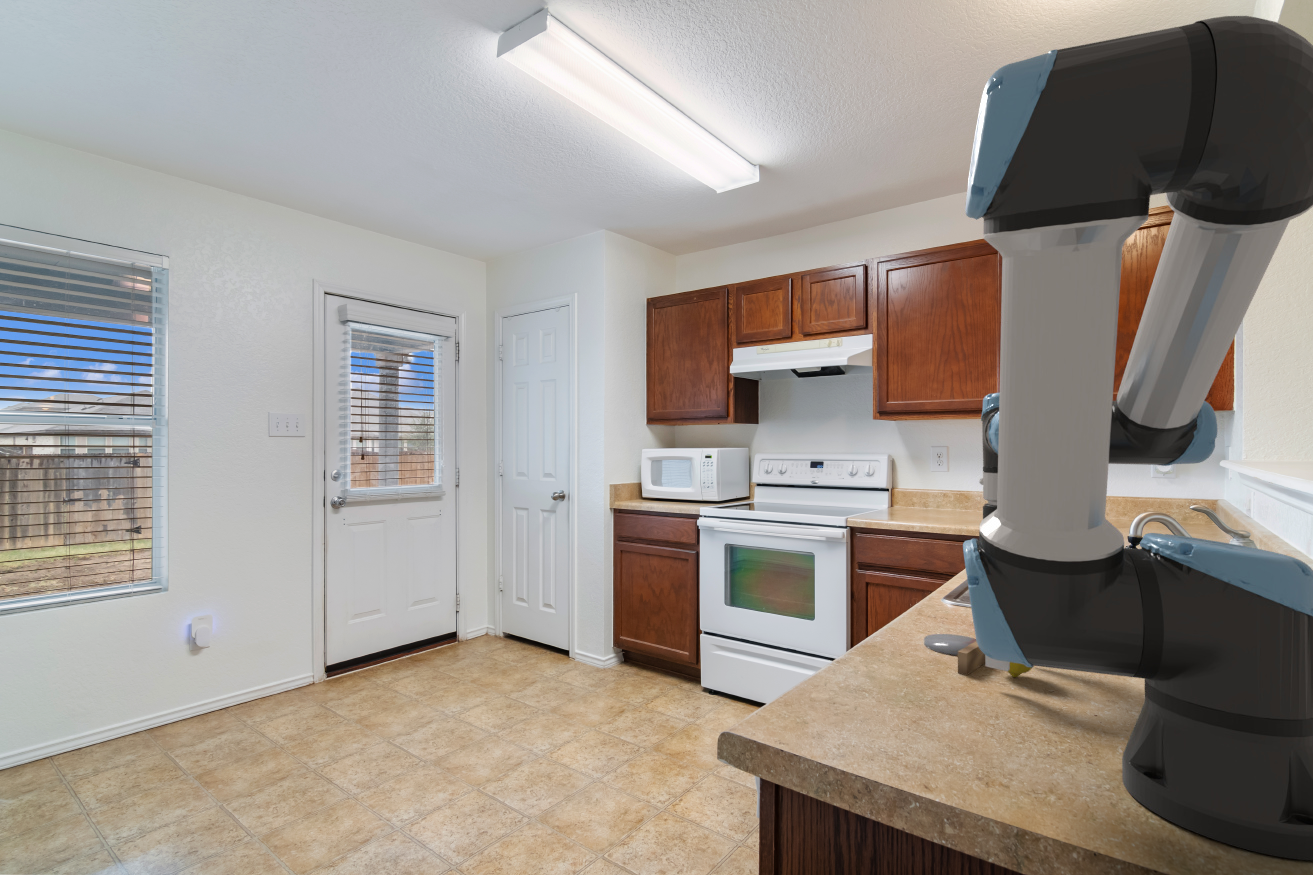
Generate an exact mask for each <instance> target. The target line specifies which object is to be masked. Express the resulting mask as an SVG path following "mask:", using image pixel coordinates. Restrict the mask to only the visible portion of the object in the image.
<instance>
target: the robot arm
mask: <svg viewBox="0 0 1313 875" xmlns="http://www.w3.org/2000/svg"><path fill="white" fill-rule="evenodd" d="M973 138H974V139H973V143H972V144H973V145H972V150H971V158H970V165H969V173H968V181H967V191H966V198H965V208H964V209H965V216H966V217H968V218H971V219H974V220H979V219H980V218H981V219H982V218H983V240H984V241H985V242H987V243H988V244H989V245H990V246H992V248H994V249H995V250H997V252H998V253H999V255H1000V256H1001V257H1002V262H1001V264H1002V265H1001V305H1000V306H1001V309H1000V310H1001V311H1000V315H1001V316H1000V322H1001V323H1000V352H999V353H1000V354H999V355H1000V357H999V358H1000V359H999V363H1000V364H999V392H994V393H988V394H987V395H984V397H983V399H982V412H981V415H980V420H981V422H982V427H981V428H982V432H981V433H982V434H981V435H982V436H981V437H982V465H983V466H982V477H981V478H979V481H978V482H979V484H980V485H981V486H982V496H983V498H982V499H983V500H985V501H987V503H984V505H983V506H982V520H981V521H980V523H979V530H978V531H979V532H978V533H979V534H978V535H979V536H978V538H971V539H967V540H964V542H963V544H962V552H963V558H964V566H965V571H966V572H965V574H966V579H967V580H966V581H967V586H968V594H969V603H970V609H971V616H972V624H973V628H974V635H975V639H976V641H977V644H978V647H979V648H980V650H981V651H982V652H983V653H984V654H985V664H984V665H985V667H986V668H991V669H996V670H999V671H1004V672H1007V671H1009V670H1010V662H1013V663H1019V664H1024V665H1025V666H1027V667H1033V666H1034V667H1042V668H1049V669H1051V668H1052V669H1060V670H1066V671H1075V672H1076V671H1077V672H1084V673H1085V672H1086V673H1091V674H1092V673H1094V674H1100V675H1101V674H1103V675H1110V676H1118V677H1119V676H1120V677H1129V678H1137V679H1144V700H1143V704H1142V707H1141V710H1140V712H1139V714H1138V717H1137V720H1136V721H1135V723H1134V726H1133V729H1132V731H1131V734H1130V735H1129V739H1128V741H1127V743H1126V746H1125V749H1124V750H1123V753H1122V759H1121V763H1122V765H1121V767H1122V768H1121V769H1122V771H1121V772H1122V783H1123V786H1124V787H1125V789H1126V790H1127V792H1128V793H1129V794H1130V795H1131V796H1132V797H1133V798H1134V799H1135V800H1136V801H1138V802H1139V803H1140V804H1141V805H1143V806H1144V807H1145V808H1147V809H1149V810H1150V811H1151V812H1153V813H1155V814H1157V815H1159V816H1160V817H1162V818H1163V819H1166V820H1168V821H1169V822H1171V823H1174V824H1175V825H1177V826H1179V827H1182V828H1183V829H1186V830H1189V831H1192V832H1193V833H1196V834H1199V835H1201V836H1204V837H1206V838H1209V839H1211V840H1215V841H1217V842H1221V843H1223V844H1226V845H1229V846H1232V847H1233V846H1234V847H1236V848H1240V849H1244V850H1248V851H1251V852H1255V853H1259V854H1264V855H1270V856H1274V857H1279V858H1284V859H1285V858H1287V859H1291V860H1292V859H1293V860H1304V861H1313V568H1312V567H1311V566H1309V565H1308V564H1307V563H1305V562H1304V561H1302V560H1301V559H1298V558H1296V557H1293V556H1289V555H1287V554H1283V553H1278V552H1274V551H1270V550H1266V549H1262V548H1256V547H1251V546H1245V545H1241V544H1240V545H1239V544H1233V543H1230V542H1229V543H1227V542H1222V541H1219V540H1218V541H1217V540H1212V539H1211V540H1210V539H1206V538H1205V539H1204V538H1198V537H1192V536H1184V535H1176V534H1168V533H1165V534H1164V533H1158V532H1148V533H1145V534H1144V535H1143V536H1142V539H1141V541H1140V542H1139V546H1140V547H1141V548H1125V539H1124V538H1125V537H1124V535H1123V533H1122V532H1121V531H1120V530H1119V529H1118V528H1117V527H1115V525H1113V524H1112V523H1111V522H1110V521H1109V520H1108V519H1106V510H1107V508H1106V507H1107V494H1108V493H1107V492H1108V475H1109V465H1111V464H1112V465H1142V466H1143V465H1146V466H1147V465H1148V466H1149V465H1153V466H1156V465H1157V466H1162V467H1164V466H1165V467H1166V466H1167V467H1168V466H1171V465H1186V464H1187V465H1189V464H1199V463H1203V462H1205V461H1207V460H1208V459H1209V458H1210V456H1212V454H1213V452H1214V451H1215V447H1216V439H1217V437H1218V421H1217V416H1216V412H1215V410H1214V408H1213V406H1211V404H1210V402H1207V401H1206V398H1207V396H1208V394H1209V391H1210V389H1211V388H1212V385H1213V384H1214V381H1215V379H1216V377H1217V375H1218V373H1219V370H1220V368H1221V366H1222V365H1223V362H1224V360H1225V359H1226V356H1227V353H1228V351H1229V350H1230V347H1231V345H1232V343H1233V342H1234V338H1235V337H1236V335H1237V333H1238V330H1239V328H1240V326H1241V324H1242V322H1243V320H1244V318H1245V315H1246V314H1247V312H1248V309H1249V307H1250V306H1251V303H1252V301H1253V299H1254V297H1255V295H1256V293H1257V291H1258V289H1259V286H1260V284H1261V281H1262V280H1263V278H1264V276H1265V275H1266V274H1265V273H1266V272H1267V270H1268V267H1269V265H1270V263H1271V261H1272V259H1273V257H1274V254H1275V252H1276V250H1277V248H1278V246H1279V244H1280V243H1281V240H1282V239H1283V236H1284V233H1285V231H1286V230H1287V227H1288V225H1289V224H1290V221H1292V220H1294V219H1296V218H1298V217H1300V216H1302V215H1304V214H1305V213H1307V212H1308V211H1309V210H1311V209H1312V208H1313V44H1312V43H1311V42H1310V41H1308V39H1306V37H1304V36H1302V35H1301V34H1299V33H1298V32H1296V31H1295V30H1293V29H1291V28H1289V27H1287V26H1286V25H1283V24H1281V23H1279V22H1277V21H1273V20H1269V19H1265V18H1260V17H1256V16H1249V15H1225V16H1216V17H1211V18H1206V19H1201V20H1197V21H1195V22H1193V23H1191V24H1190V23H1189V24H1185V25H1181V26H1174V27H1170V28H1165V29H1164V28H1163V29H1160V30H1154V31H1149V32H1148V31H1147V32H1143V33H1139V34H1133V35H1127V36H1122V37H1117V38H1112V39H1106V40H1101V41H1096V42H1091V43H1087V44H1082V45H1076V46H1069V47H1065V48H1060V49H1051V50H1049V51H1048V52H1047V53H1043V54H1040V55H1036V56H1034V57H1029V58H1026V59H1024V60H1019V61H1016V62H1011V63H1008V64H1005V65H1003V66H1001V67H1000V68H998V69H997V70H996V71H994V72H993V74H991V76H990V77H989V78H988V80H987V82H986V83H985V86H984V88H983V92H982V95H981V100H980V104H979V109H978V116H977V121H976V126H975V132H974V137H973ZM1160 194H1165V200H1166V203H1167V205H1168V207H1169V208H1170V209H1171V210H1172V211H1173V212H1174V213H1173V216H1172V219H1171V223H1170V225H1169V229H1168V233H1167V235H1166V239H1165V242H1164V246H1163V248H1162V251H1161V255H1160V257H1159V261H1158V264H1157V268H1156V271H1155V273H1154V277H1153V281H1152V284H1151V286H1150V290H1149V293H1148V296H1147V299H1146V303H1145V305H1144V309H1143V312H1142V315H1141V319H1140V321H1139V325H1138V327H1137V328H1138V329H1137V331H1136V335H1135V336H1134V341H1133V344H1132V348H1131V350H1130V353H1129V358H1128V360H1127V364H1126V367H1125V369H1124V373H1123V376H1122V379H1121V383H1120V385H1119V389H1118V391H1117V395H1116V399H1115V400H1114V399H1113V398H1114V387H1115V386H1114V384H1115V383H1114V382H1115V369H1116V368H1115V367H1116V355H1117V354H1116V352H1117V351H1116V350H1117V340H1118V339H1117V338H1118V320H1119V307H1120V291H1121V275H1122V260H1123V248H1124V245H1125V242H1126V241H1127V240H1128V239H1129V238H1130V237H1131V236H1133V234H1134V233H1135V232H1137V230H1138V229H1140V228H1141V227H1143V225H1144V224H1145V223H1146V222H1147V221H1149V215H1150V212H1149V211H1150V203H1151V202H1150V200H1151V199H1150V198H1151V196H1155V195H1160ZM1034 667H1033V668H1034Z"/></svg>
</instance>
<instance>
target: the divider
mask: <svg viewBox="0 0 1313 875" xmlns="http://www.w3.org/2000/svg"><path fill="white" fill-rule="evenodd" d="M983 665H985V654H984V653H983V652H982V651H981V650H980V648H979V647H978V644H977V641H975V642H974V643H972V644H970V645H968V646H967V647H965V648H963V649H961V650H959V651H958V656H957V673H958V674H961V675H964V676H965V675H966V676H967V675H970V674H971V673H972V672H974V671H975V670H977V669H979V668H981V666H983Z"/></svg>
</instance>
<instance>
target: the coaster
mask: <svg viewBox="0 0 1313 875" xmlns="http://www.w3.org/2000/svg"><path fill="white" fill-rule="evenodd" d="M975 641H976V638H973V637H971V636H965V635H959V634H950V633H935V634H933V633H932V634H928V635H926V636H925V637H924V638H923V644H924V646H925V647H926V648H928V649H929V650H931V651H934V652H938V653H940V652H941V654H944V655H945V654H946V655H950V654H951V656H957V655H958V651H959V650H961V649H963V648H965V647H967V646H968V645H970V644H972V643H974V642H975Z"/></svg>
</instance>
